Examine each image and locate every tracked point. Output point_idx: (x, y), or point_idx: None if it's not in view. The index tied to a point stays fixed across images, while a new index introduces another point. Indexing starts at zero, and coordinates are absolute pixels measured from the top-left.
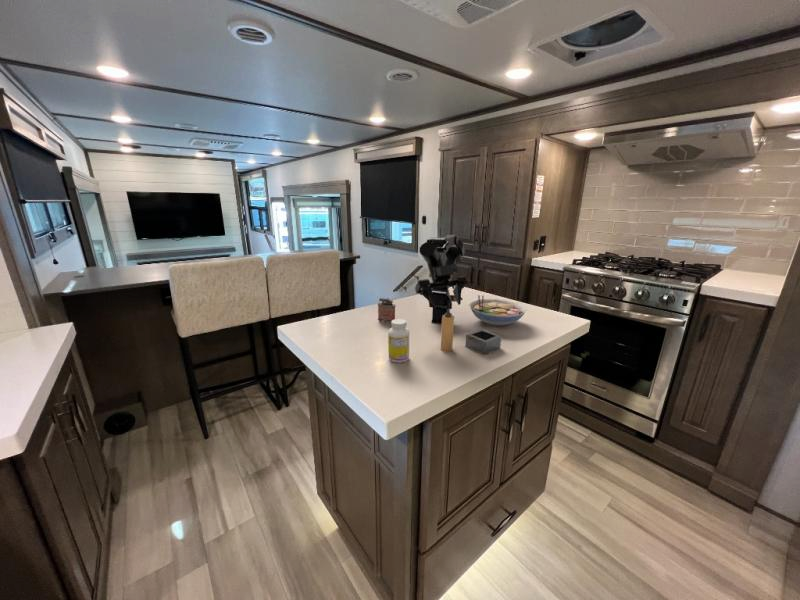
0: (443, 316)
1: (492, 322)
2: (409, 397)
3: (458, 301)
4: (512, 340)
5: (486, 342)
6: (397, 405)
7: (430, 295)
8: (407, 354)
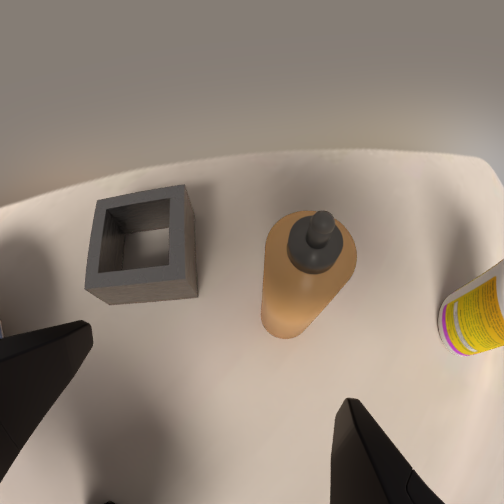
0: (346, 264)
1: (3, 335)
2: (461, 174)
3: (74, 343)
4: (47, 247)
5: (182, 185)
6: (477, 171)
7: (426, 488)
8: (459, 288)
